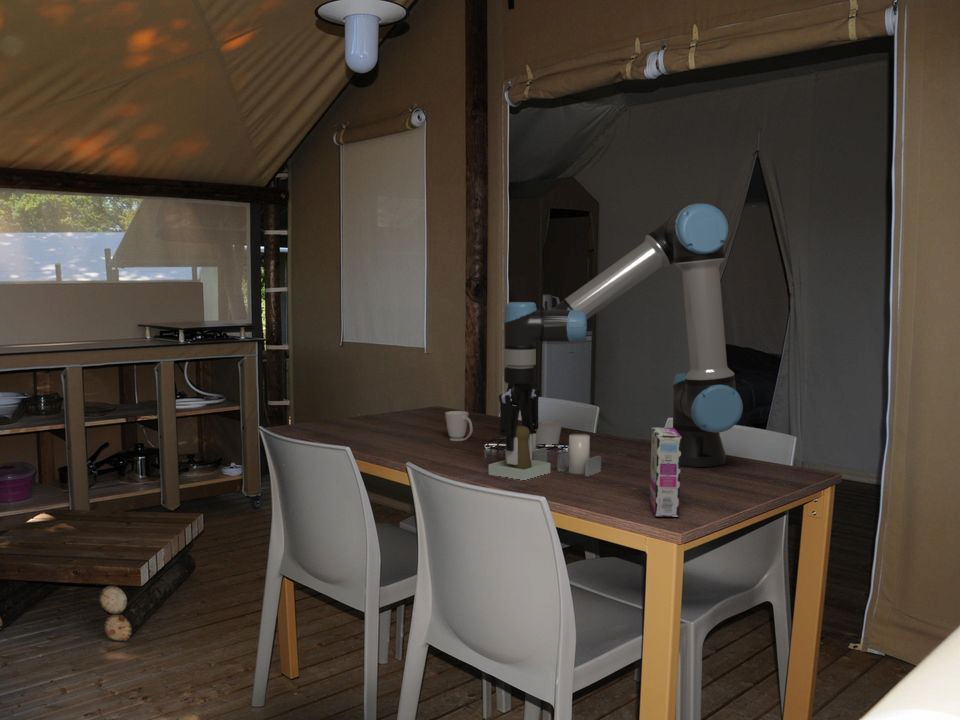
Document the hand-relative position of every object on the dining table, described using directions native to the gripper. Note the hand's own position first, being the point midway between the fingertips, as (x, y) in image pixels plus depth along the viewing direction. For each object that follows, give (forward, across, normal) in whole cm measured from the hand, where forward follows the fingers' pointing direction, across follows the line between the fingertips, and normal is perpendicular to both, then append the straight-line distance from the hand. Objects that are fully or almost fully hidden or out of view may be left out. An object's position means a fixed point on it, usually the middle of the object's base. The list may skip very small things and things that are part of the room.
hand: (519, 461), depth 206 cm
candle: (+3, -33, -15) cm, 36 cm away
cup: (+3, -25, -40) cm, 47 cm away
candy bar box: (+3, +9, +43) cm, 44 cm away
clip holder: (+3, -11, +2) cm, 12 cm away
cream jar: (+3, -11, +10) cm, 15 cm away
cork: (+3, 0, 0) cm, 3 cm away
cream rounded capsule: (+3, -11, -6) cm, 13 cm away
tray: (+3, 0, 0) cm, 3 cm away
